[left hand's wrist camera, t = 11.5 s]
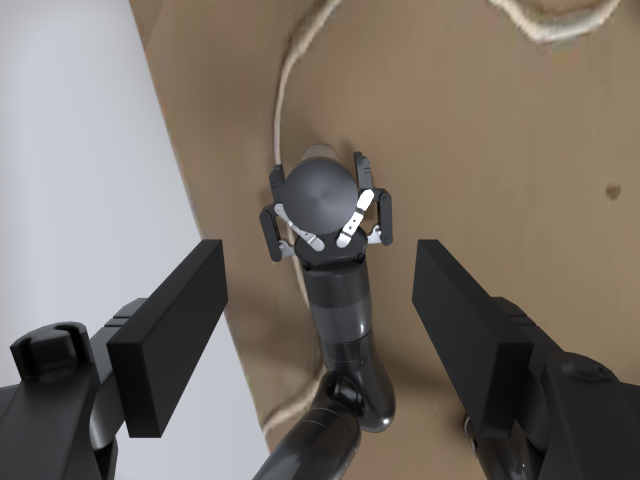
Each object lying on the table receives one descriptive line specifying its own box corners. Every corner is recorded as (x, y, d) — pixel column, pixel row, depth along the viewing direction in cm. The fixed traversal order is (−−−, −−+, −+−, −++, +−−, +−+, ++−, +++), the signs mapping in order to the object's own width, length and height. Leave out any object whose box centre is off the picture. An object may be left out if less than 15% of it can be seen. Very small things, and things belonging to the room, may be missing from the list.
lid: (282, 223, 29) (279, 231, 27) (286, 152, 27) (284, 155, 25) (350, 229, 29) (353, 238, 27) (360, 160, 27) (363, 163, 25)
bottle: (298, 182, 44) (285, 225, 27) (301, 142, 42) (289, 161, 25) (337, 186, 44) (348, 230, 27) (341, 146, 42) (356, 167, 26)
